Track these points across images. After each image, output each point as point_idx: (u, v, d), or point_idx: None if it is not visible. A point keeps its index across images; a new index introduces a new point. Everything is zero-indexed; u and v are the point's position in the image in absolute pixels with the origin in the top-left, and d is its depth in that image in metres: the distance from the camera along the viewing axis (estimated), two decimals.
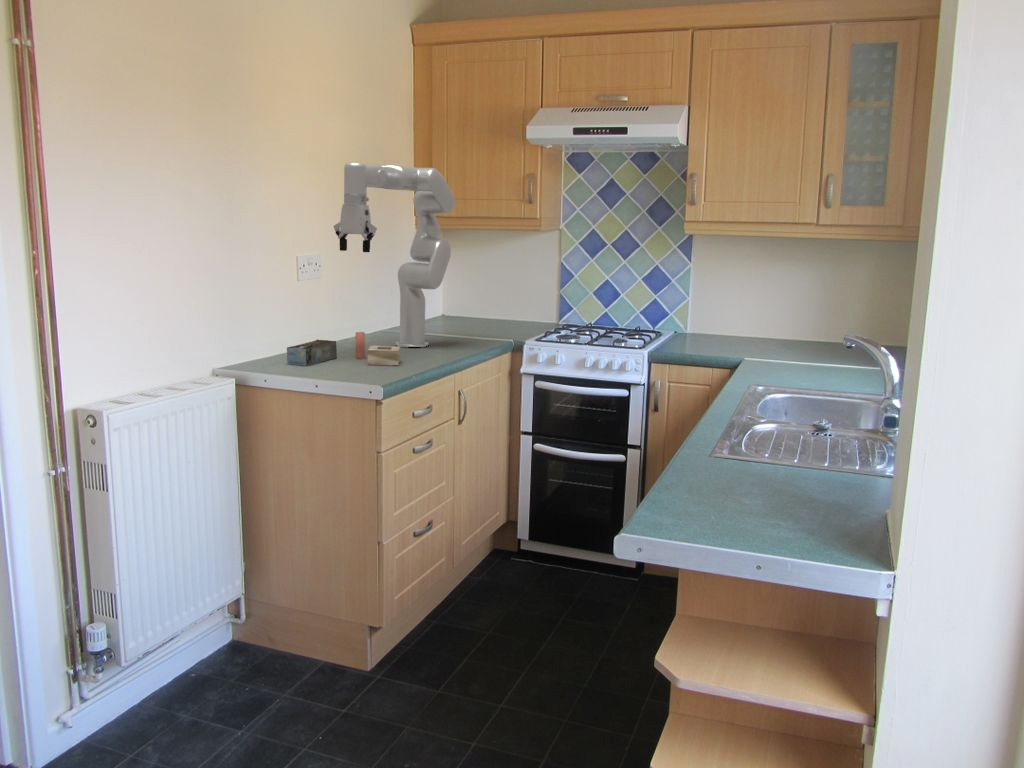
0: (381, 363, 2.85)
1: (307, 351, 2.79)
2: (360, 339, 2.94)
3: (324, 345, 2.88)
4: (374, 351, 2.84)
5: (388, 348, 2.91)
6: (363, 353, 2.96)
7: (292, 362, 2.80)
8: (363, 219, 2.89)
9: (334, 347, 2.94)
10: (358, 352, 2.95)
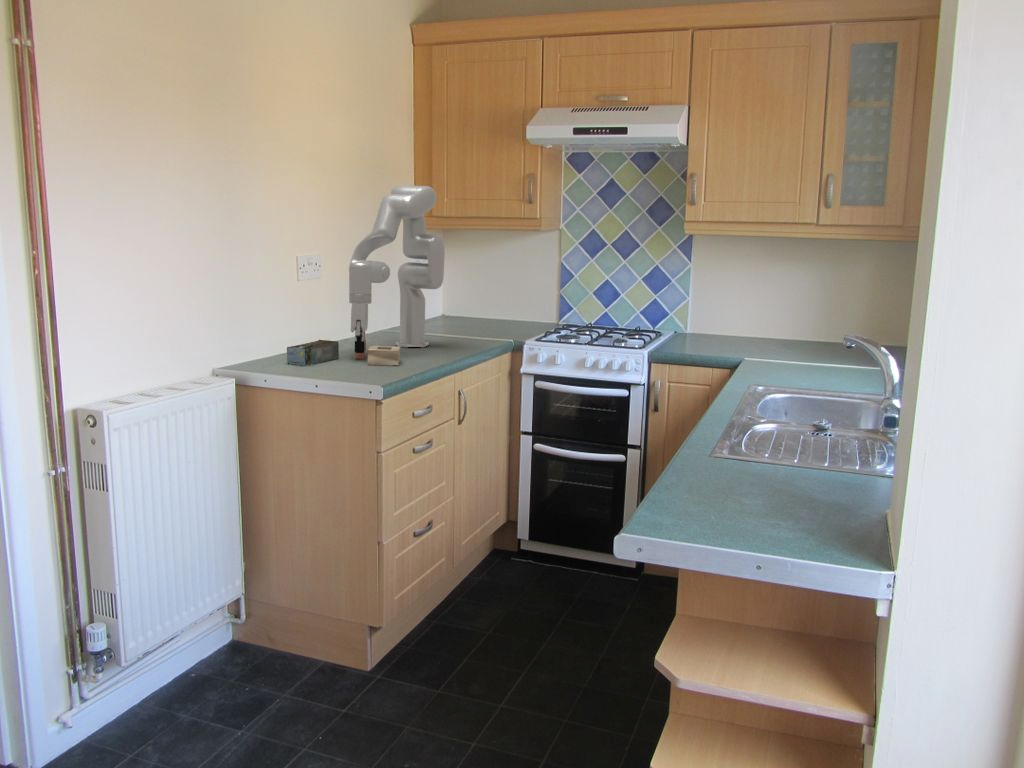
0: (381, 363, 2.85)
1: (306, 351, 2.79)
2: None
3: (325, 345, 2.87)
4: (374, 351, 2.84)
5: (388, 348, 2.91)
6: (363, 353, 2.96)
7: (292, 362, 2.81)
8: None
9: (336, 347, 2.93)
10: None
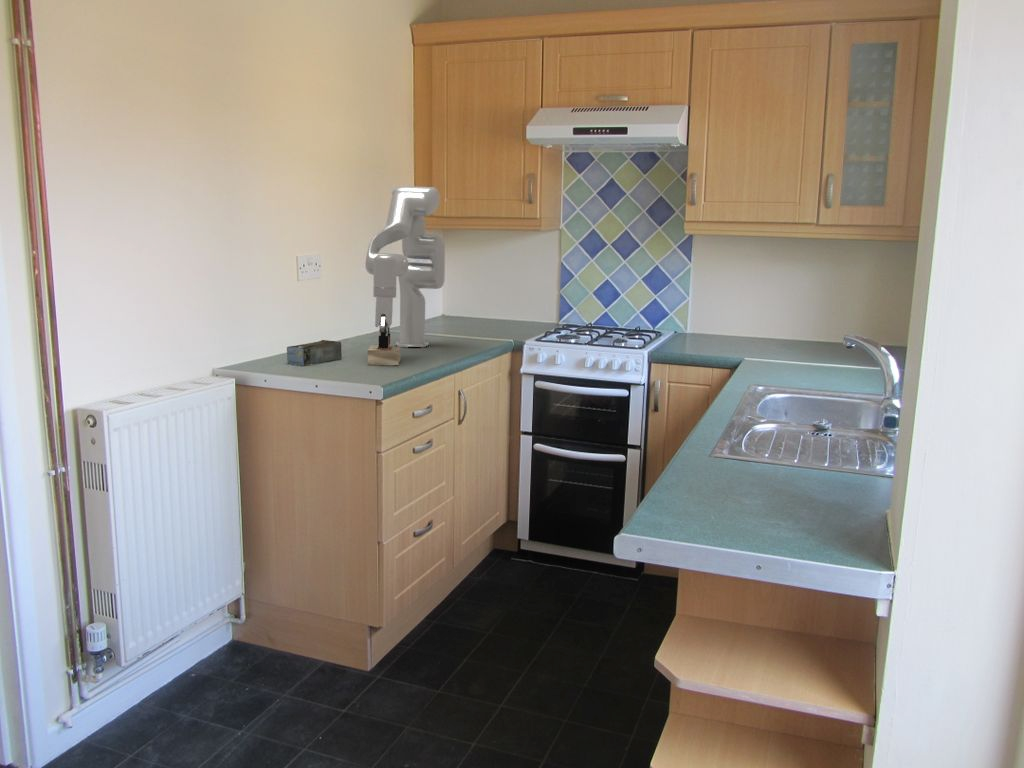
0: (381, 363, 2.85)
1: (305, 351, 2.79)
2: None
3: (326, 345, 2.87)
4: (374, 351, 2.84)
5: None
6: None
7: (291, 362, 2.81)
8: None
9: (338, 348, 2.92)
10: None
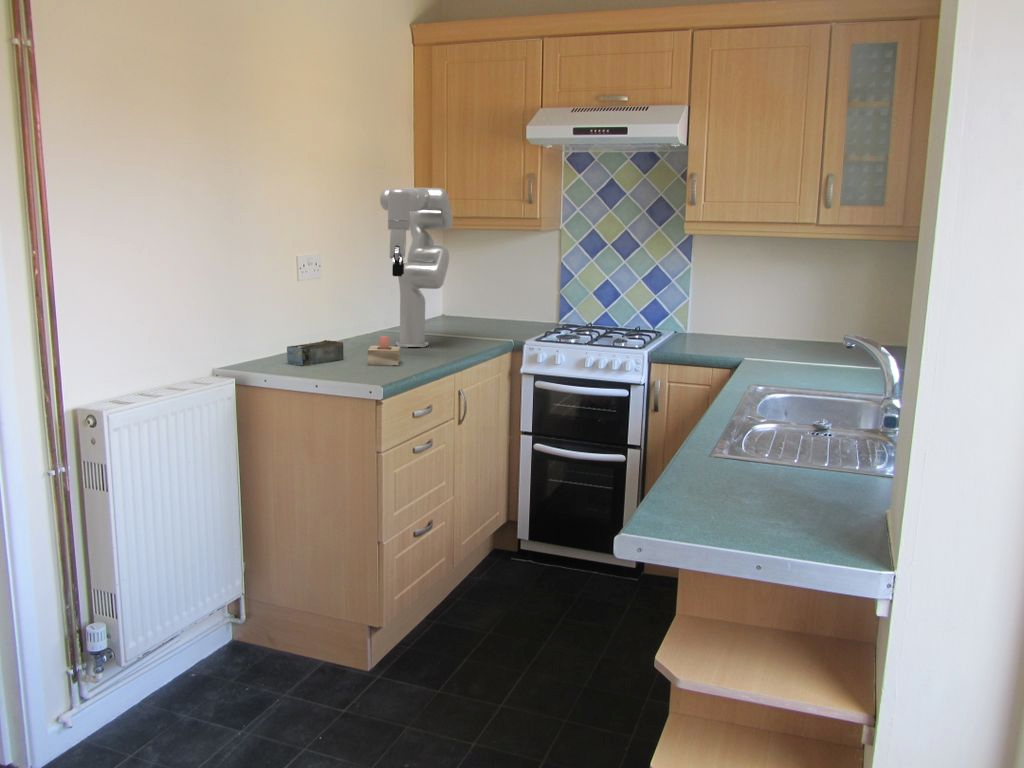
0: (381, 363, 2.85)
1: (304, 351, 2.79)
2: (384, 343, 2.87)
3: (327, 346, 2.86)
4: (374, 351, 2.84)
5: None
6: None
7: (291, 361, 2.81)
8: None
9: (340, 348, 2.92)
10: None
